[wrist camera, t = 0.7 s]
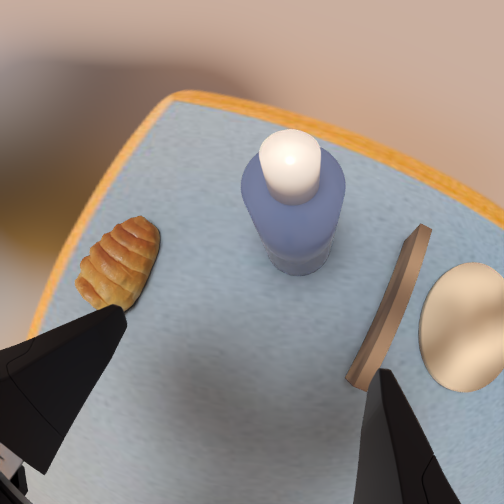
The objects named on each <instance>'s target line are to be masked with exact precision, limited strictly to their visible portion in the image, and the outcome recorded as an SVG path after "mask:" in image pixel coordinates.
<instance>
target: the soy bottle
mask: <svg viewBox="0 0 504 504" xmlns="http://www.w3.org/2000/svg"><path fill="white" fill-rule="evenodd" d="M241 193H242V197H243V201H244V203H245V205H246V207H247V209H248V212H249V214H250V216H251V218H252V220H253V223H254V225H255V227H256V229H257V232H258V234H259V236H260V238H261V240H262V243H263V245H264V247H265V249H266V252H267V254H268V256H269V258H270V260H271V262H272V263H273V264H274V266H275V267H276V268H278V269H279V270H280V271H282V272H284V273H286V274H289V275H293V276H303V275H308V274H311V273H313V272H315V271H316V270H318V269H319V268H320V267H321V266H322V265H323V264H324V263H325V261H326V260H327V258H328V256H329V253H330V249H331V246H332V242H333V238H334V234H335V231H336V227H337V223H338V219H339V215H340V211H341V207H342V203H343V199H344V195H345V177H344V174H343V171H342V168H341V166H340V165H339V163H338V162H337V160H336V159H335V158H334V157H333V156H332V155H331V154H330V153H329V152H327V151H326V150H324V149H323V148H321V147H320V146H319V144H318V143H317V141H316V140H315V139H314V138H313V137H312V136H311V135H309V134H307V133H305V132H303V131H299V130H293V129H288V130H281V131H278V132H276V133H274V134H272V135H270V136H269V137H268V138H266V139H265V141H264V142H263V143H262V145H261V147H260V150H259V153H257V154H256V155H255V156H254V157H253V158H252V159H251V160H250V162H249V163H248V165H247V166H246V168H245V170H244V173H243V176H242V180H241Z"/></svg>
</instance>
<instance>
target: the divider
mask: <svg viewBox="0 0 504 504" xmlns="http://www.w3.org/2000/svg"><path fill="white" fill-rule="evenodd" d="M431 232H432V229H431V228H429V227H427V226H425V225H423V224H420V225H419V226H418V227H417V228H416V229H415V230H414V231H413V232H412V233H411V235H410V236H409V237H408V238H407V239H406V240H405V241H404V244H403V247H402V249H401V252H400V255H399V258H398V261H397V263H396V266H395V269H394V272H393V274H392V277H391V279H390V282H389V285H388V287H387V290H386V292H385V294H384V297H383V299H382V302H381V304H380V306H379V309H378V311H377V313H376V316H375V318H374V320H373V322H372V325H371V327H370V329H369V331H368V333H367V335H366V337H365V340H364V342H363V344H362V346H361V348H360V350H359V352H358V354H357V356H356V358H355V360H354V362H353V364H352V366H351V367H350V369H349V371H348V373H347V375H346V377H345V378H346V379H347V380H348V381H349V382H350V383H351V384H352V385H353V386H354V387H356V388H358V389H361V390H363V391H365V392H367V391H368V387H369V384H370V382H371V380H372V378H373V376H374V375H375V373H376V371H377V370H378V369H379V368H380V366H381V364H382V362H383V359H384V357H385V355H386V353H387V351H388V349H389V347H390V345H391V342H392V340H393V338H394V336H395V333H396V331H397V329H398V327H399V324H400V322H401V319H402V317H403V315H404V312H405V310H406V307H407V304H408V302H409V299H410V297H411V294H412V291H413V288H414V286H415V283H416V280H417V277H418V274H419V271H420V268H421V265H422V262H423V259H424V256H425V252H426V249H427V246H428V242H429V239H430V235H431Z"/></svg>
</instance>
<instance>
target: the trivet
mask: <svg viewBox="0 0 504 504" xmlns="http://www.w3.org/2000/svg"><path fill="white" fill-rule="evenodd" d="M419 346H420V352H421V355H422V359H423V361H424V364H425V366H426V368H427V370H428V372H429V373H430V375H431V376H432V377H433V378H434V379H435V380H436V381H437V382H438V383H439V384H440V385H442V386H443V387H445V388H448V389H450V390H453V391H458V392H472V391H476V390H479V389H481V388H483V387H485V386H486V385H488V384H489V383H491V382H492V381H493V380H494V379H495V378H496V377H497V376H498V375H499V374H500V373H501V371H502V370H503V369H504V279H503V277H502V276H501V275H500V274H499V273H498V272H497V271H495V270H494V269H492V268H491V267H489V266H487V265H485V264H481V263H474V262H472V263H465V264H461V265H459V266H456V267H454V268H452V269H451V270H449V271H448V272H446V273H445V274H443V275H442V276H441V277H440V278H439V279H438V280H437V282H436V283H435V284H434V285H433V287H432V288H431V290H430V291H429V293H428V295H427V297H426V300H425V302H424V305H423V308H422V312H421V316H420V322H419Z"/></svg>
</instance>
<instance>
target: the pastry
mask: <svg viewBox="0 0 504 504" xmlns="http://www.w3.org/2000/svg"><path fill="white" fill-rule="evenodd" d="M159 242H160V235H159V231H158V229H157V228H156V227H155V226H154V225H153V224H152V223H150V222H149V221H148V220H146V219H145V218H144V217H142V216H137V217H134V218H130V219H128V220H127V221H125V222H123V223H121V224H117V225H116V226H115V227H114V229H113V230H112V231H111V232H109V233H106V234H104V235H103V236H102V239H101V241H99V242H97V243H96V244H95V245H94V246H92V247H91V248H90V255H89V256H86V257H84V258H83V259H82V261H81V263H80V268H81V273H80V274H79V276H78V278H77V279H76V280H75V286H76V288H77V290H78V291H79V293H80V294H81V296H82V297H83V298H84V299H85V300H86V301H87V302H89V303H90V304H91V305H92V306H93V307H94V308H95V309H97V310H99V309H101V308H104V307H106V306H108V305H111V304H116V305H118V306H121V307H122V308H123V310H124V311H125V310H127V309H128V308H130V307H131V306H132V305H133V304H134V302H135V300H136V299H137V298H138V297H139V296H140V294H141V291H142V289H143V287H144V286H145V283H146V281H147V279H148V277H149V274H150V271H151V269H152V266H153V264H154V262H155V259H156V256H157V254H158V251H159Z"/></svg>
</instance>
